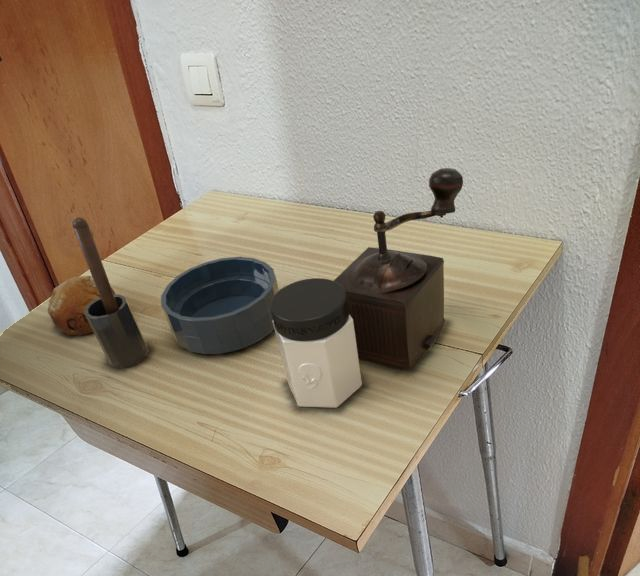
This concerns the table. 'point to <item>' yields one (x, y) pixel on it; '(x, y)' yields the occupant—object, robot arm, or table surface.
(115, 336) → the holder
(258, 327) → the bowl
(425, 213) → the manual coffee grinder
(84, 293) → the bread roll
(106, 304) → the stick
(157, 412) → the table surface
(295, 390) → the jar
